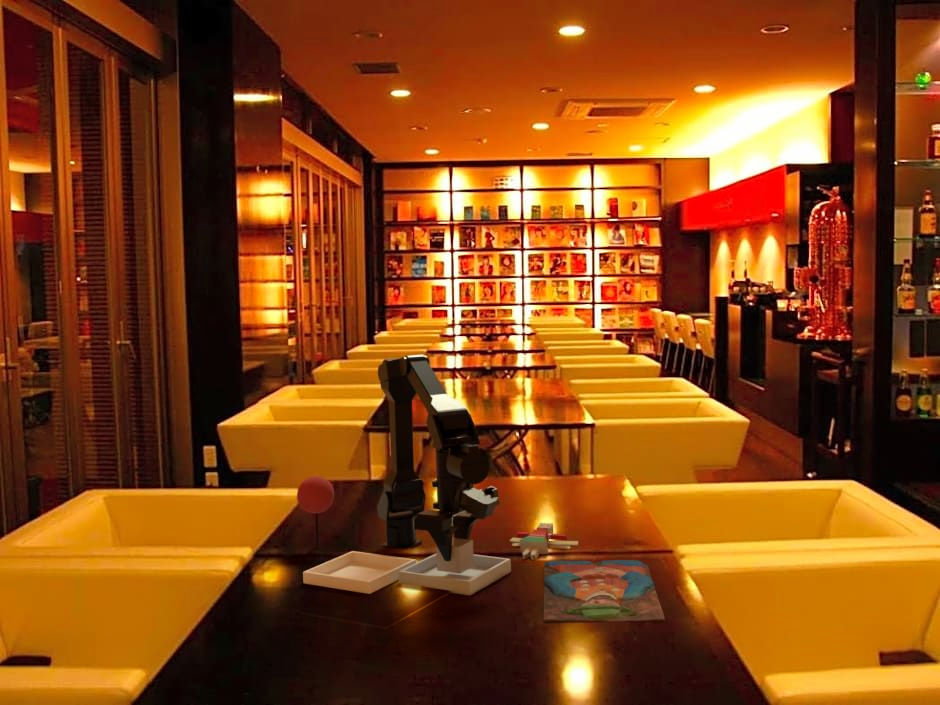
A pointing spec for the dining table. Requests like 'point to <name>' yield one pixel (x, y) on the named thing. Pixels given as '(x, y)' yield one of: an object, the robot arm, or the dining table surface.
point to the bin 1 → (357, 572)
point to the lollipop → (315, 497)
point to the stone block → (457, 557)
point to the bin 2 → (456, 574)
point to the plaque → (600, 592)
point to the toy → (540, 541)
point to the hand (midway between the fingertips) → (454, 557)
